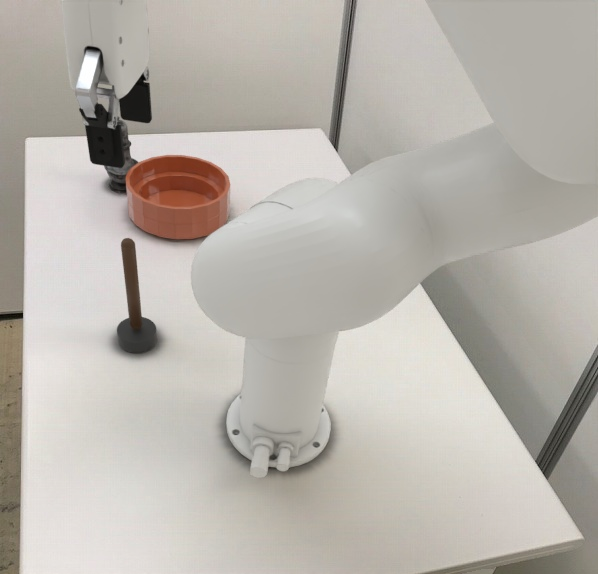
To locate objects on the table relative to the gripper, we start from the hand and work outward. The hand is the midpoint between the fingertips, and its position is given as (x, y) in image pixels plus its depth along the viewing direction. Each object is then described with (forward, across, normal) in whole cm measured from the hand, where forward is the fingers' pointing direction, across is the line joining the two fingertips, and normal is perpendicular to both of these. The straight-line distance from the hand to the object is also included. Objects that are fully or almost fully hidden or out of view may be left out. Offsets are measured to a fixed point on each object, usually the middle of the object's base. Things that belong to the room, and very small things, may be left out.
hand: (123, 141), depth 64 cm
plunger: (+28, 0, -1) cm, 28 cm away
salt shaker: (+28, -37, -14) cm, 48 cm away
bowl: (+27, -31, -3) cm, 42 cm away
